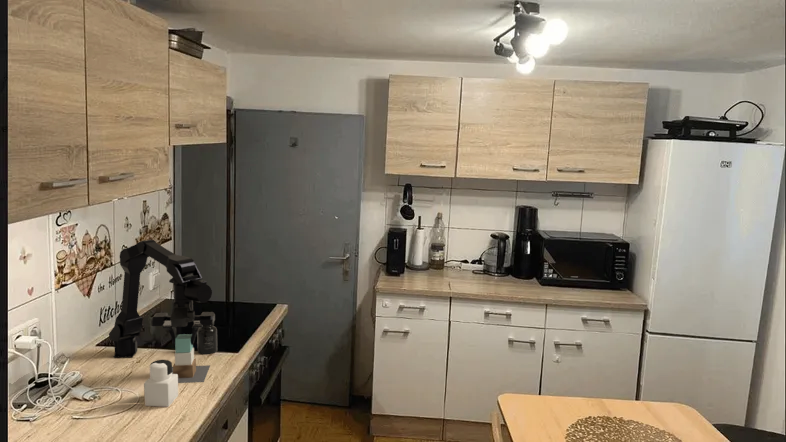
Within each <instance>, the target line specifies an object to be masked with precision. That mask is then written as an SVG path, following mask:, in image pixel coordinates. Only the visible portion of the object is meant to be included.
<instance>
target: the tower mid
mask: <svg viewBox="0 0 786 442" xmlns="http://www.w3.org/2000/svg"><path fill="white" fill-rule="evenodd" d="M194 359H195V347H193V348H192V350H191V352H183V353H175V352H174V364H175V366H177V365H192V362H193V360H194Z"/></svg>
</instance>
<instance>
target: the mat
mask: <svg viewBox="0 0 786 442" xmlns="http://www.w3.org/2000/svg"><path fill="white" fill-rule="evenodd" d="M210 367H211V365H196V372H195V374H194V376H193V377H192V378H178V384H186V383H187V384H188V383H189V384H191V383H194V384H195V383H204V382H205V380H206V377H207V375H208V372H209V370H210ZM172 374H173V366H172Z"/></svg>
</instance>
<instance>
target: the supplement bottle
mask: <svg viewBox="0 0 786 442" xmlns="http://www.w3.org/2000/svg"><path fill="white" fill-rule="evenodd" d="M214 325H215V322H214V323H213V324H212V325H203V326H202V327H200V328H199V329H198V331H197V334H196V337H197V342H196V344H197V354H200V355H203V356H205V355H212V354H215V353H216V352H218V329H217V327H216V326H214Z"/></svg>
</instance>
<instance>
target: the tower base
mask: <svg viewBox="0 0 786 442" xmlns="http://www.w3.org/2000/svg"><path fill="white" fill-rule="evenodd" d="M196 366H197V359H196V358H194V360H193V362H192V365H177V366H175V363H174V364H172V367H173V374H178V378H192V377H193V376H194V374H195V372H196Z"/></svg>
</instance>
